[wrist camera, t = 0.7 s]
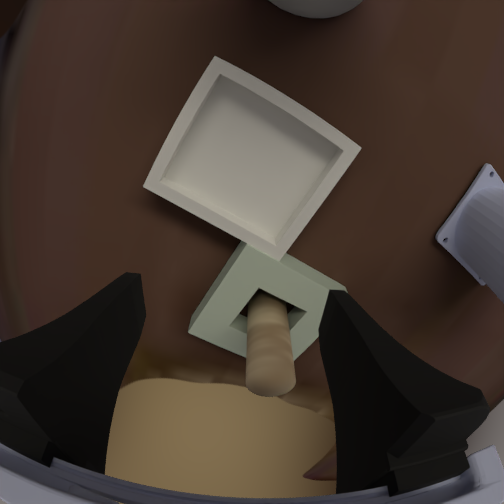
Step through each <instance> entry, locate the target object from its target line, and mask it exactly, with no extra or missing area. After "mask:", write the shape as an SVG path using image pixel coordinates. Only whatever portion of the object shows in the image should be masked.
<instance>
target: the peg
mask: <svg viewBox="0 0 504 504" xmlns="http://www.w3.org/2000/svg"><path fill="white" fill-rule="evenodd" d="M295 383H296V378H295V369H294V361H293V353H292V345H291V337H290V330H289V322H288V315H287V307H286V301H284V300H282V299H280V298H278V297H276V296H274V295H272V294H270V293H268V292H266V291H264V290H262V289H258V290H257V291H256V292H255V293H254V295H253V296H252V297H251V299H250V300H249V301H248V316H247V353H246V386H247V388H248V389H249V390H250V391H251V392H252V393H254V394H256V395H260V396H265V397H273V396H279V395H282V394H285V393H287V392H289V391H290V390H291V389H292V388H293V387H294V386H295Z"/></svg>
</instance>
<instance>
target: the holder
mask: <svg viewBox="0 0 504 504" xmlns="http://www.w3.org/2000/svg"><path fill="white" fill-rule="evenodd" d="M258 288H260V289H262V290H264V291H266V292H268V293H270V294H272V295H274V296H276V297H278V298H280V299H282V300H284V301H286V302H288V303H290V304H292V305H294V308H293V309H292V310H291V311H290V312H289V313H288V314H287V315H288V322H289V330H290V337H291V345H292V353H293V361H294V360H295V359H296V358H297V357H298V356H299V355H300V354H301V353H303V352H304V351H305V350H306V349H307V348H308V347H309V346H310V345H311V344H312V343H313V342H314V341H315V340H316V339H317V338H318V337H319V332H318V328H319V325H320V321H321V318H322V315H323V311H324V308H325V304H326V300H327V297H328V293H329V289H331V290H345V291H346V292H347V290H346V287H345V286H343V285H341V284H340V283H338V282H336V281H334V280H333V279H331V278H329V277H327V276H326V275H324V274H322V273H320V272H319V271H317V270H315V269H313V268H311V267H310V266H308V265H306V264H304V263H303V262H301V261H299V260H297V259H296V258H294V257H292V256H290V255H288V254H287V253H285V254H284V256H283V257H282V258H281V260H280V261H278V260H277V259H275V258H273V257H271V256H269V255H267V254H266V253H264V252H262V251H260V250H258V249H256V248H255V247H253V246H251V245H249V244H247V243H245V242H244V241H242V240H241V242H240V243H239V245H238V246H237V248H236V249H235V251H234V252H233V254H232V255H231V257H230V258H229V260H228V261H227V263H226V265H225V266H224V268H223V269H222V271H221V272H220V274H219V275H218V277H217V278H216V280H215V281H214V283H213V284H212V286H211V287H210V289H209V290H208V292H207V293H206V295H205V297H204V298H203V300H202V301H201V303H200V304H199V306H198V307H197V309H196V310H195V312H194V313H193V315H192V317H191V321H190V325H189V329H188V333H190V334H192V335H195V336H197V337H199V338H201V339H203V340H206V341H208V342H210V343H213V344H215V345H217V346H219V347H222V348H224V349H226V350H229V351H231V352H234V353H236V354H239V355H241V356H243V357H246V353H247V317H245V316H243V315H241V314H239V313H240V312H241V310H242V309H243V308H244V306H245V305H246V304H247V302H248V301H249V300H250V299H251V297H252V296H253V295H254V293H255V292H256V291H257V289H258ZM347 293H348V292H347Z"/></svg>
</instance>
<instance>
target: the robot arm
mask: <svg viewBox="0 0 504 504" xmlns="http://www.w3.org/2000/svg"><path fill="white" fill-rule="evenodd" d="M490 172H491V175H490ZM435 238H436V240H437V241H438V242H439V243H440V244H441V245H442V246H443V247H444V248H445V249H446V250H447V251H448V252H449V253H450V254H451V255H452V256H453V257H454V258H455V259H456V260H457V261H458V262H459V263H460V264H461V265H462V266H463V267H464V268H465V269H466V270H467V271H468V272H469V273H470V274H471V275H472V276H473V277H474V278H475V279H476V280H477V281H478V282H479V283H480V284H481V285H485V284H487V285H488V286H489V288H490V289H491V290H492V291H493V292H494V293H495V294H496V295H497V297H498V298H499V299H500V300H501V301H502V302H503V303H504V183H503V182H502V180H501V179H500V177H499V176H498V174H497V173H496V171H495V170H494V169H493V167H492V166H491V165H490V164H485V165H484V166H483V168H482V169H481V171H480V172H479V174H478V175H477V177H476V178H475V180H474V182H473V183H472V185H471V186H470V188H469V189H468V190H467V192H466V193H465V195H464V196H463V198H462V199H461V201H460V202H459V203H458V205H457V206H456V208H455V209H454V210H453V212H452V213H451V215H450V216H449V217H448V219H447V220H446V221H445V223H444V224H443V225H442V227H441V228H440V229H439V231H438V232H437V234H436V236H435ZM445 238H446V239H445ZM444 239H445V240H444ZM443 240H444V241H443ZM145 318H146V310H145V304H144V296H143V289H142V281H141V274H137V273H128V272H126V273H124V274H123V275H121V276H120V277H118V278H117V279H116V280H114V281H113V282H111V283H110V284H109V285H107V286H106V287H105V288H103V289H102V290H100V291H99V292H98V293H96V294H95V295H94V296H92V297H91V298H89V299H88V300H86V301H85V302H83V303H82V304H80V305H79V306H77V307H76V308H74V309H73V310H71V311H70V312H68V313H66V314H65V315H63V316H61V317H59V318H58V319H56V320H54V321H52V322H50V323H48V324H46V325H44V326H42V327H40V328H37V329H35V330H33V331H31V332H28V333H26V334H23V335H21V336H18V337H15V338H12V339H9V340H6V341H3V342H0V499H1V500H3V501H4V502H6V503H8V504H119V503H118V502H121V503H124V504H501V503H502V502H504V468H503V466H502V463H501V461H500V458H499V455H498V453H497V450H496V448H495V445H491V446H489V447H486V448H484V449H482V450H479V451H477V452H475V453H473V454H471V455H469V456H468V457H466V454H465V452H464V451H465V450H466V449H467V448H468V444H467V441H466V439H467V438H468V437H469V436H470V435H471V434H472V433H473V432H474V431H475V430H476V429H477V428H478V427H479V426H480V425H481V424H482V423H483V422H484V420H485V419H486V418H487V416H488V414H489V411H490V407H489V405H488V403H487V401H486V399H485V397H484V395H483V393H482V391H481V390H480V389H478V388H476V387H473V386H471V385H468V384H466V383H463V382H461V381H459V380H456V379H454V378H452V377H450V376H448V375H446V374H445V373H443V372H441V371H439V370H437V369H436V368H434V367H432V366H431V365H429V364H427V363H426V362H424V361H423V360H421V359H420V358H418V357H417V356H415V355H414V354H413V353H411V352H410V351H409V350H407V349H406V348H405V347H403V346H402V345H401V344H400V343H398V342H397V341H396V340H395V339H394V338H393V337H391V336H390V335H389V334H388V333H387V332H386V331H385V330H384V329H383V328H382V327H381V326H380V325H378V324H377V323H376V322H375V321H374V320H373V319H372V318H371V317H370V316H369V315H368V314H367V313H366V312H365V310H364V309H363V308H362V307H361V306H360V305H359V304H358V303H357V302H356V301H355V300H354V299H353V298H352V297H351V296H350V295H349V294H348V293H347V292H346V291H345V290H331V289H329V293H328V297H327V300H326V304H325V308H324V311H323V315H322V318H321V321H320V325H319V328H318V332H319V343H320V351H321V356H322V360H323V364H324V368H325V372H326V377H327V381H328V385H329V389H330V393H331V398H332V403H333V410H334V420H335V431H336V448H337V484H336V486H337V487H336V494H334V495H325V496H314V497H299V498H235V497H220V496H209V495H200V494H191V493H185V492H177V491H172V490H166V489H161V488H156V487H150V486H146V485H141V484H137V483H132V482H129V481H124V480H121V479H117V478H114V477H110V476H107V475H105V464H106V454H107V446H108V439H109V433H110V427H111V422H112V417H113V412H114V408H115V404H116V399H117V396H118V392H119V388H120V386H121V383H122V380H123V377H124V375H125V372H126V370H127V367H128V365H129V363H130V360H131V358H132V355H133V353H134V351H135V348H136V346H137V344H138V341H139V339H140V336H141V333H142V329H143V325H144V322H145ZM113 500H114V501H113ZM115 501H117V502H115Z"/></svg>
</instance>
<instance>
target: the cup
mask: <svg viewBox="0 0 504 504" xmlns="http://www.w3.org/2000/svg"><path fill="white" fill-rule="evenodd" d="M269 1H270V2H272V3H273V4H274V5H276V6H277V7H279V8H280V9H282V10H285V11H287V12H290V13H292V14H294V15H298V16H303V17H307V18H330V17H335V16H339V15H341V14H343V13H346V12H348V11H350V10H352V9H353V8H355V7H356V6H357V5H358V4H360V3H361V2H362V1H363V0H269Z"/></svg>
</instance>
